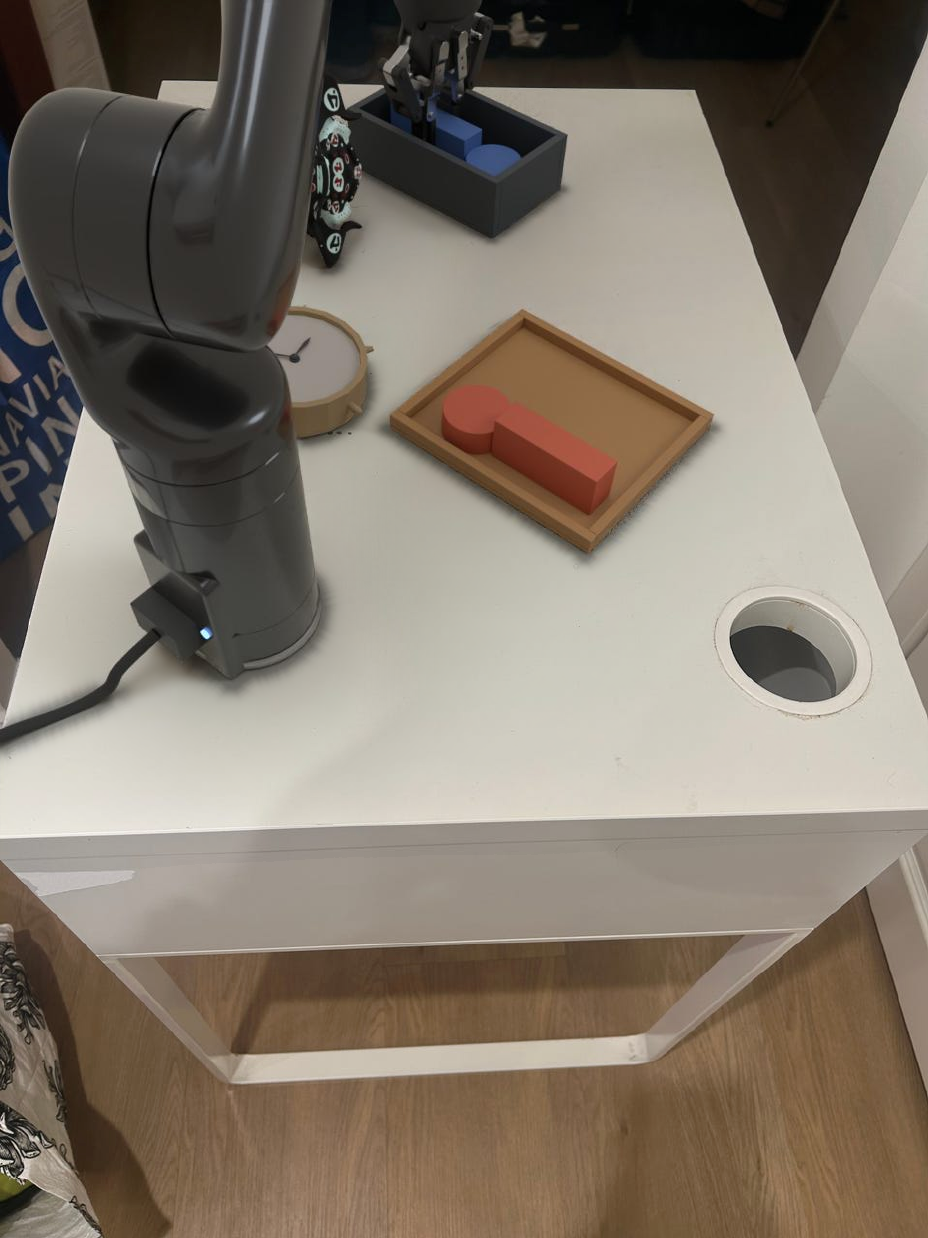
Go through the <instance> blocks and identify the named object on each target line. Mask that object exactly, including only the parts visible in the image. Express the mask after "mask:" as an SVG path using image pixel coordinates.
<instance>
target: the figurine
mask: <svg viewBox="0 0 928 1238" xmlns="http://www.w3.org/2000/svg"><path fill="white" fill-rule="evenodd" d="M335 116H338V117H340V118H341V119H342V120H344V121H346V122H347V121H355V120H357V119H359V118H361V117H362V114H361V113H359V112H358V113H351V112H349V111H347V108H346V106H345V103H344V99H343V96H342V93H341V89H340V86H339V84H338V82H337V80H336V78H335V77H334V75H333V74H332V73H331V72H330V71H329V70H324V79H323V88H322V98H321V107H320V116H319V126H318V135H317V145H316V154H315V163H314V173H313V182H312V192H311V200H310V208H309V216H308V223H307V231H306V235H308V236H309V237H310V238H312V239H314V240H315V242H316V245H317V248H318V251H319V253H320V256H321V257H322V260H323V263H324V265H325V266H326V267H327V268H328V269H331V268H333V267H334V266H335V265H336V264H337V262H338V261H339V259H340V256H341V254H342V250H343V247H344V243H345V240H346V235H347V233H349V231H351V230H362V229H363V225H362V224H361V223H359V222H357V221H354V220H347V219H348V218H349V217H350V215H351V214H352V209H351V207H350V203H351V202H353V200H354V199H355V196H356V194H357V191H358V188H359V187H360V182H359V181H361V180H362V178H363V177H362V175H363V174H362V171H363V170H362V169H361V164H359V159H358V157H357V155H356V152H355V150H354V148H353V146H352V144H350V143H349V135H350V133H351V131H350V129H349V128H348V125H345V124H344V123H343V122H341V121H339V120H336V119H334V117H335ZM340 224H341V226H340V227H339V229H336V228H333V226H334V225H340Z"/></svg>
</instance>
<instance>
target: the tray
mask: <svg viewBox="0 0 928 1238" xmlns="http://www.w3.org/2000/svg"><path fill="white" fill-rule="evenodd" d="M467 385H484V386H488V387H492V388H494V389H496V390H498V391H500V392H501V393H502V394H504V395H505V396H506V397H507V399H508V400H509V402H510V404H511V405H513V404H514V403H515V402H518V403H520V404H521V405H523V406H525V407H526V408H528V409H530V410H531V411H533V412H535V413H537V414H538V415H540V416H542V417H543V418H545V419H547V420H548V421H550V422H552V423H553V424H555V425H557V426H558V427H560V428H562V429H564V430H565V431H567V432H569V433H570V434H572V435H574V436H575V437H577V438H579V439H580V440H582V441H584V442H586V443H587V444H589V445H591V446H592V447H594V448H596V449H597V450H599V451H601V452H602V453H604V454H606V455H608V456H609V457H611V458H613V459H614V460H616V461H617V466H616V470H615V474H614V478H613V482H612V486H611V490H610V494H609V496H608V497H607V498H606V499H605V500H604V501H603V502H602V503H601V504H600V505H599V506H598V507H597V508H596V509H595V510H594V511H593V512H592V513H591V514H590V515H587V514H586V513H584V512H582V511H581V510H579V509H578V508H576V507H574V506H573V505H571V504H569V503H568V502H566V501H565V500H563V499H561V498H560V497H558V496H557V495H555V494H553V493H552V492H550V491H549V490H547V489H545V488H544V487H542V486H540V485H539V484H537V483H536V482H534V481H532V480H531V479H529V478H528V477H526V476H524V475H523V474H521V473H520V472H518V471H516V470H515V469H513V468H511V467H510V466H508V465H507V464H505V463H503V462H502V461H500V460H499V459H497V458H495V457H494V456H492V455H491V452H490V453H486V454H469V453H465V452H463V451H462V450H460V449H459V448H457V447H455V446H454V445H452V444H451V443H449V442H447V441H446V440H445V438H444V436H443V434H442V406H443V402H444V400H445V398H446V397H447V396H448V395H449V394H450V393H451V392H452V391H454V390H455V389H457V388H460V387H463V386H467ZM714 417H715V414H714V413H712V412H711V411H709V410H707V409H705V408H704V407H702V406H700V405H698V404H696V403H695V402H693V401H691V400H689V399H687V398H686V397H684V396H683V395H680V394H678V393H676V392H674V391H673V390H671V389H669V388H667V387H665V386H664V385H662V384H660V383H658V382H656V381H655V380H653V379H651V378H649V377H648V376H645V375H643V374H642V373H640V372H638V371H636V370H635V369H634V368H631V367H629V366H628V365H626V364H623V363H622V362H620V361H618V360H616V359H614V358H613V357H611V356H609V355H607V354H606V353H604V352H602V351H600V350H598V349H597V348H595V347H593V346H591V345H590V344H587V343H586V342H584V341H582V340H580V339H578V338H577V337H575V336H573V335H571V334H569V333H567V332H566V331H563V330H562V329H560V328H559V327H556V326H554V325H553V324H551V323H549V322H547V320H544V319H542V318H540V317H538V316H536V315H535V314H533V313H531V312H529V311H527V310H526V309H524V308H521V309H520V310H519V311H518V312H516V313H515V314H514V315H513V316H511V317H510V318H509V319H507V320H506V321H505V322H503V324H501V325H500V326H498V327H497V328H496V329H495V330H494V331H492V332H491V333H490V334H488V336H486V337H485V338H484V339H483V340H482V341H480V342H479V343H477V344H476V345H475V346H474V347H472V348H471V349H470V350H469V351H467V352H466V353H465V354H464V355H462V356H461V357H460V358H459V359H458V360H456V361H454V363H452V364H451V365H450V366H448V367H447V368H446V369H445V370H444V371H442V372H441V373H440V374H439V375H438V376H436V377H435V378H434V379H432V380H431V381H430V382H429V383H428V384H426V385H425V386H424V387H422V388H421V389H420V390H418V391H417V392H416V393H415V394H413V395H412V396H411V397H410V398H409V399H407V400H406V401H405V402H403V404H401V405H400V406H398V407H397V408H396V409H394V410H393V411H392V412H391V413H390V414H389V428H390V429H391V430H392V431H394V432H396V433H397V434H399V435H401V436H402V437H404V438H405V439H407V440H408V441H409V442H411V443H413V444H414V445H416V446H418V447H419V448H421V449H422V450H424V451H425V452H427V453H428V454H429V455H430V454H431V455H432V456H433V457H435V458H436V459H439V460H440V461H441V462H443V463H444V464H446V465H448V467H451V468H452V469H453V470H456V471H457V472H458V473H460V474H462V475H464V476H465V477H467V478H468V479H470V480H471V481H473V482H474V483H476V484H478V485H479V486H481V487H483V489H485V490H487V491H489V492H490V493H491V494H493V495H494V496H496V497H498V498H499V499H501V500H503V501H504V502H506V503H507V504H509V505H510V506H512V507H513V508H515V509H517V510H518V511H520V513H521V512H522V513H523V514H524V515H526V516H527V517H529V518H531V519H533V520H534V521H536V522H537V523H539V524H540V525H541V526H543V527H545V528H547V529H548V530H549V531H551V532H553V533H554V534H556V535H558V536H559V537H560V538H562V539H564V540H565V541H567V542H569V543H570V544H572V545H573V546H575V547H576V548H578V549H579V550H581V551H582V552H584V553H586V554H590V552H592V550H593V549H594V548H596V546H597V545H598V544H599V543H600V542H602V540H603V539H604V538H605V537H606V536H607V535H608V534H609V533H610V532H611V531H612V530H613V528H615V527H616V526H617V525H618V524H619V522H621V520H623V518H624V517H625V516H627V514H628V513H629V512H630V511H632V509H633V508H634V507H635V506H636V505H637V503H638V502H640V501H641V500H642V498H643V497H644V496H645V495H646V494H647V493H648V492H649V491H650V490H651V489H652V488H653V487H654V486H655V485H656V484H657V483H658V482H659V480H661V479H662V478H663V476H665V474H667V473H668V471H670V469H671V468H672V467H673V466H674V465H675V464H676V463H677V462H678V461H679V460H680V459H681V458H682V457H683V456H684V455H685V454H686V452H688V451H689V450H690V448H692V446H693V445H695V443H696V442H697V441H698V440H699V439H700V438H701V437H702V436H703V435H704V434H705V433H706V432H707V431H708V430H709V429H710V428H711V425H712V422H713V420H714Z"/></svg>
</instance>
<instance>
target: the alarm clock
mask: <svg viewBox="0 0 928 1238" xmlns="http://www.w3.org/2000/svg"><path fill="white" fill-rule="evenodd" d="M267 345H268V346H269V347H270V348H271V349H272V351H273V352H274V353H275V354H276V356H277V357H278V359H279V360H280V362H281V364H282V366H283V368H284V370H285V372H286V375H287V379H288V383H289V387H290V394H291V401H292V408H293V415H294V422H295V429H296V436H297V438H307V437H312V436H317V435H321V434H326V433H329V432H331V431H333V430H335V429H337V428H340V427H341V426H344V425H345V424H347V423H348V422H350V420H351V419H352V418H353V417H354V416H355V415H358V416H362V415H363V414H364V410H363V409H362V406H363V403H364V401H365V399H366V396H367V372H368V365H369V363H368V354H370V353H372V352H374V351H375V349H374V346H373V345H365V343H364V341H363V339H362V337H361V335H360V333H358V332H357V330H355V329H354V328H353V327H352V326H351V325H349V324H348V323H347V322H346V321H345V320H343V319H341V318H339V317H338V316H335V315H333V314H332V313H329V312H327V311H324V310H320V309H316V308H312V307H307V306H301V305H299V306H298V305H297V306H295V305H290V308H289V311H288V314H287V316H286V318H285V320H284V322H283V324H282V326H281V328H280V330H279V331H278V333H277V334H276V336H275V337H274V338H273V340H272V341H271V342H270V343H268V344H267Z"/></svg>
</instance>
